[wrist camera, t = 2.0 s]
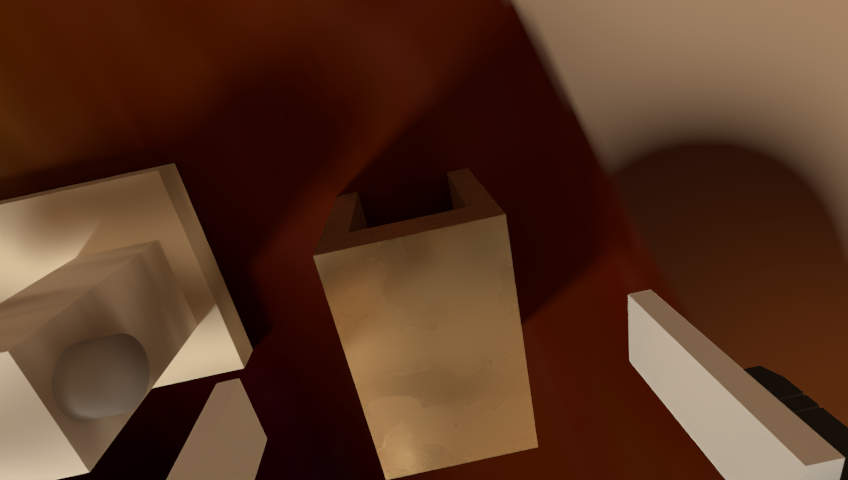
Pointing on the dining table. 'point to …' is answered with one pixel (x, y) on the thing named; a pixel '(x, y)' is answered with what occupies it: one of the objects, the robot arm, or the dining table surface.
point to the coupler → (431, 329)
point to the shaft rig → (102, 315)
